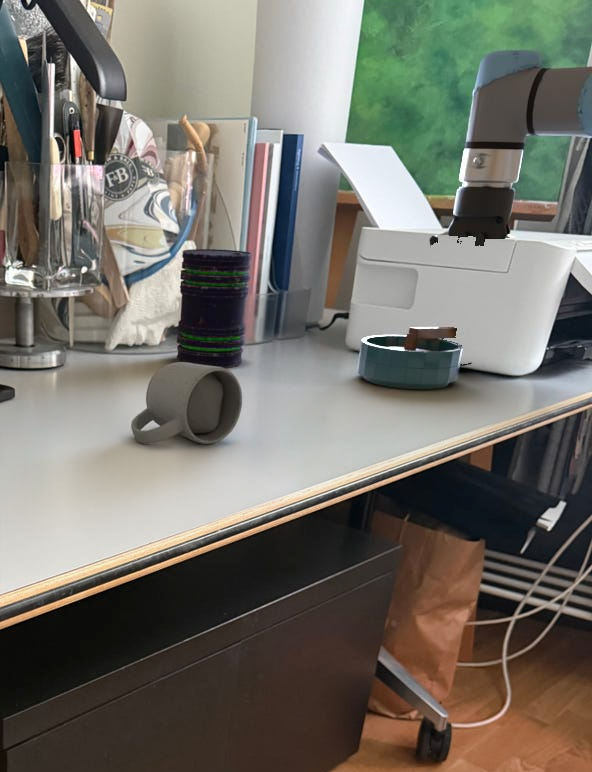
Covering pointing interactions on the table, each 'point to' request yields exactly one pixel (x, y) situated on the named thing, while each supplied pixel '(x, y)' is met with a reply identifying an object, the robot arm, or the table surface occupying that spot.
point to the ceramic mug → (190, 404)
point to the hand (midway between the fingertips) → (454, 362)
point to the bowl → (409, 362)
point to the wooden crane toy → (426, 336)
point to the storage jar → (213, 307)
